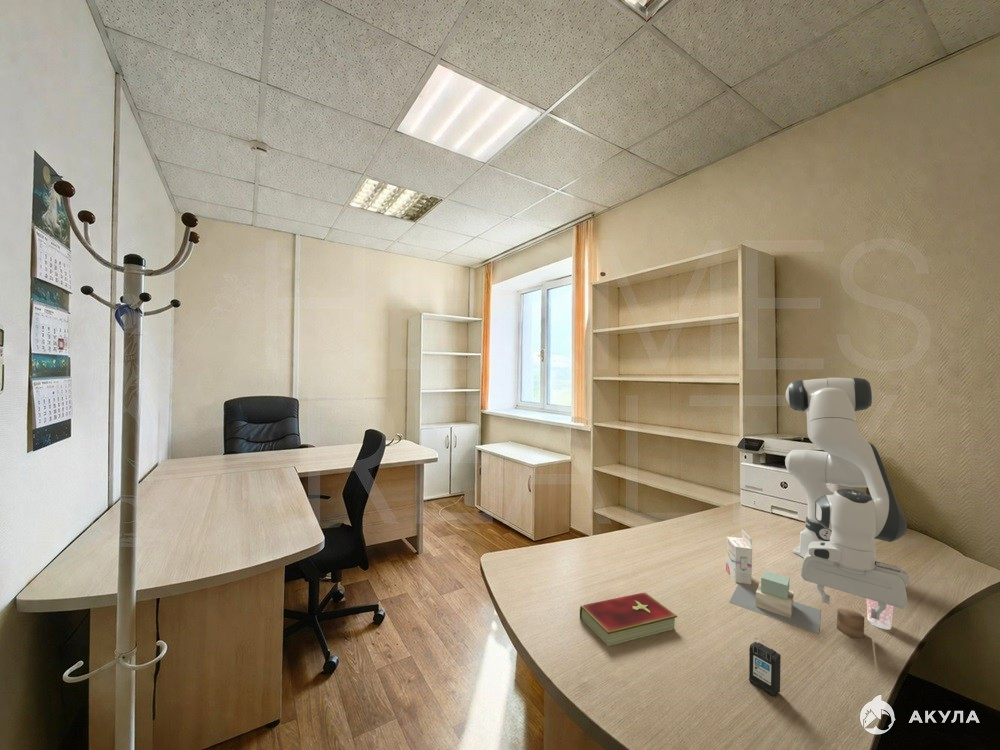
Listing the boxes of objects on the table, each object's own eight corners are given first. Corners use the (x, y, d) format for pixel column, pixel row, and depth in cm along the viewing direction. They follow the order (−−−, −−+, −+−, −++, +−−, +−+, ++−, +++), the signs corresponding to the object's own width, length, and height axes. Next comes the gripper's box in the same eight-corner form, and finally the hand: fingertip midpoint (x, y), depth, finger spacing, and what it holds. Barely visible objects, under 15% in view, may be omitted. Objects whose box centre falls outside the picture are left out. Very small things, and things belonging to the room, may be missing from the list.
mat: (738, 585, 124) (738, 583, 124) (820, 611, 111) (820, 610, 111) (728, 603, 114) (728, 602, 114) (818, 635, 101) (818, 633, 101)
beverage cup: (898, 634, 102) (900, 579, 102) (866, 625, 106) (868, 572, 106) (891, 622, 108) (893, 570, 107) (861, 614, 111) (863, 563, 111)
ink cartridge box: (724, 571, 133) (726, 526, 133) (741, 573, 132) (742, 528, 132) (734, 584, 125) (736, 537, 125) (751, 586, 124) (753, 538, 124)
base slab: (759, 594, 118) (760, 581, 118) (793, 605, 113) (793, 591, 113) (755, 606, 112) (755, 592, 112) (790, 618, 107) (791, 603, 107)
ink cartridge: (748, 681, 84) (749, 643, 85) (754, 677, 86) (754, 640, 86) (774, 697, 80) (775, 657, 80) (780, 693, 81) (780, 653, 82)
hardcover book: (579, 619, 105) (579, 603, 105) (643, 605, 112) (643, 590, 112) (607, 649, 93) (608, 631, 93) (676, 631, 101) (677, 614, 101)
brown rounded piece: (836, 624, 106) (837, 605, 106) (863, 633, 102) (864, 613, 102) (836, 633, 102) (837, 614, 102) (864, 643, 98) (864, 622, 98)
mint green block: (763, 583, 117) (764, 570, 117) (789, 591, 113) (789, 577, 113) (760, 592, 112) (761, 577, 112) (787, 600, 108) (787, 585, 108)
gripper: (908, 565, 98) (906, 622, 97) (803, 540, 111) (801, 590, 111) (911, 574, 93) (909, 634, 93) (801, 546, 106) (799, 599, 106)
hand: (849, 610), depth 102 cm, fingers open, 8 cm apart
